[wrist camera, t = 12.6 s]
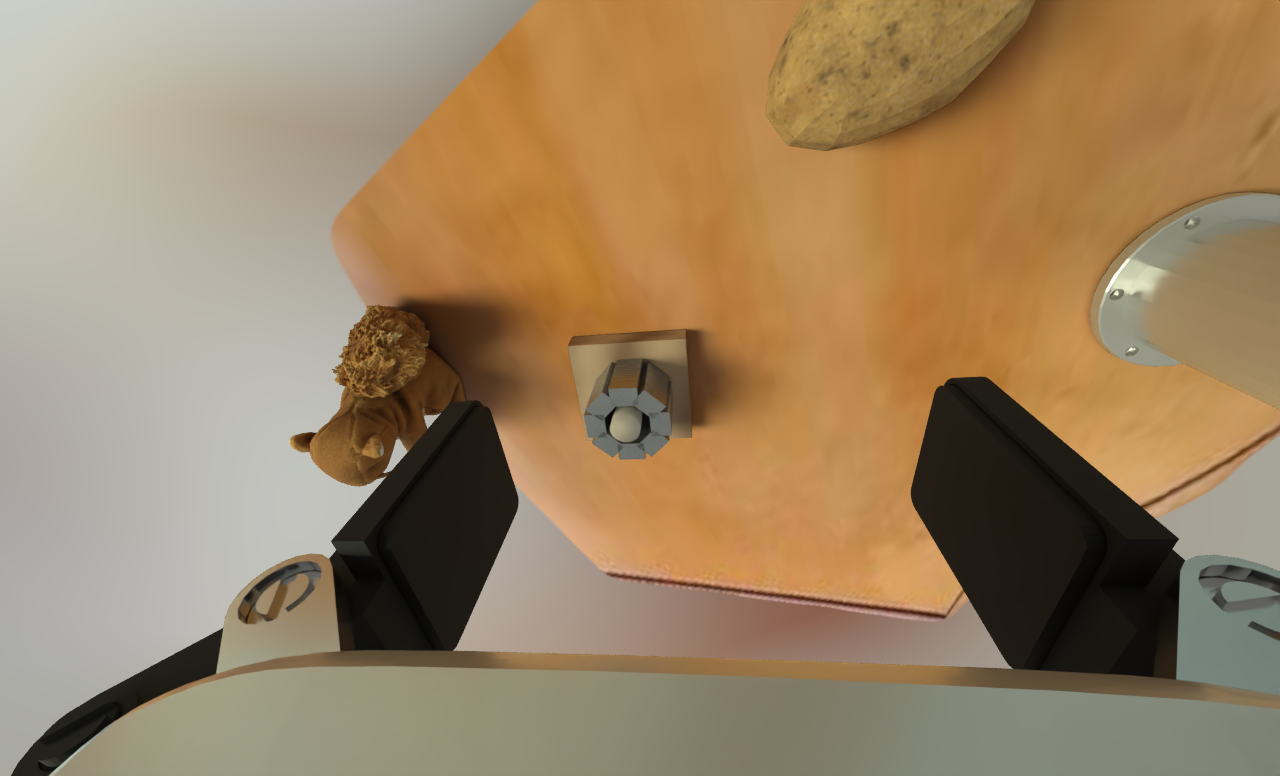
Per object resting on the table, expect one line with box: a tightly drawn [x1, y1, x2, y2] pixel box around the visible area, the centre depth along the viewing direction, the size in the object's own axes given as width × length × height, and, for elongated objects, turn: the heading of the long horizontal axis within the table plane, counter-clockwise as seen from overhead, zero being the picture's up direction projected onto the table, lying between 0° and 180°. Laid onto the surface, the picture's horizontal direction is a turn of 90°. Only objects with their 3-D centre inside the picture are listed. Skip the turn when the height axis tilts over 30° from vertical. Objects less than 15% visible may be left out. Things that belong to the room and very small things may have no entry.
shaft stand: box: [568, 329, 692, 442], centre depth 39 cm, size 10×10×8 cm
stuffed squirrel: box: [289, 305, 466, 486], centre depth 37 cm, size 10×14×13 cm
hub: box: [584, 358, 673, 460], centre depth 38 cm, size 7×7×5 cm
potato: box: [766, 0, 1035, 151], centre depth 25 cm, size 10×14×8 cm
